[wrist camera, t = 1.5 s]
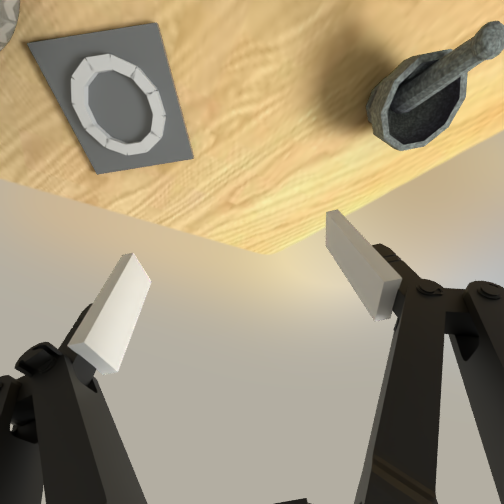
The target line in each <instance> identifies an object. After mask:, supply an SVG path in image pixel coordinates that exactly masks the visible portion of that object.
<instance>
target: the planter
mask: <svg viewBox="0 0 504 504" xmlns="http://www.w3.org/2000/svg"><path fill="white" fill-rule="evenodd" d="M19 8H20V0H0V51H1V50H2V49H3V48H4V47H5V46H6V45H7V43H8V42H9V41H10V39H11V37H12V35H13V33H14V30H15V27H16V25H17V21H18V16H19Z"/></svg>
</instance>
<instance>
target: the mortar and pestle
mask: <svg viewBox="0 0 504 504" xmlns="http://www.w3.org/2000/svg"><path fill="white" fill-rule="evenodd" d="M503 49H504V25H503V24H502V23H500V22H499V21H493V22H488V23H487V24H485V25H484V26H483V27H481V29H480V30H479V31H478V32H477V33H476V34H475V36H474V37H472V38H471V39H469V40H468V41H466V42H465V43H463V44H462V45H460V46H459V47H457V48H456V49H454V50H452V49H448V50H442V51H437V52H432V53H427V54H422V55H417V56H412V57H410V58H408V59H406V60H404V61H403V62H402V63H401V64H400V65H399V66H398V67H397V68H396V69H395V70H394V71H393V72H392V73H391V74H390V75H389V76H388V77H385V78H384V79H383V80H382V81H381V82H380V83H379V84H378V85H377V86H376V87H375V88H374V89H373V90H372V92H371V95H370V97H369V100H368V103H367V105H366V111H367V117H368V121H369V122H370V123H372V128H373V134H374V135H375V136H377V137H378V138H380V139H381V140H382V141H384V142H385V143H387V144H388V145H390V146H391V147H392V148H394V149H396V150H399V151H403V150H408V149H413V148H418V147H424V146H425V145H427V144H428V143H429V142H430V141H432V140H433V139H434V138H435V137H437V136H438V135H439V134H440V133H442V132H443V131H444V130H445V129H447V128H448V127H449V125H450V124H451V122H452V120H453V118H454V117H455V115H456V113H457V111H458V110H459V108H460V106H461V104H462V103H463V101H464V99H465V97H466V86H467V72H468V71H469V70H471V69H472V68H474V67H475V66H477V65H478V64H480V63H481V62H483V61H484V60H489V59H493V58H494V57H496V56H497V55H499V54H500V53H501V51H502V50H503Z"/></svg>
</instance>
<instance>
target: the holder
mask: <svg viewBox="0 0 504 504" xmlns="http://www.w3.org/2000/svg"><path fill="white" fill-rule="evenodd" d="M27 45H28V47H29V49H30V50H31V52H32V54H33V56H34V58H35V60H36V62H37V63H38V65H39V67H40V69H41V71H42V73H43V75H44V77H45V78H46V80H47V82H48V84H49V86H50V88H51V90H52V91H53V93H54V95H55V97H56V99H57V101H58V103H59V105H60V106H61V108H62V110H63V112H64V114H65V116H66V118H67V119H68V121H69V123H70V125H71V127H72V129H73V131H74V132H75V134H76V136H77V138H78V140H79V142H80V144H81V146H82V147H83V149H84V151H85V153H86V155H87V157H88V159H89V160H90V162H91V164H92V166H93V168H94V170H95V172H96V174H103V173H109V172H116V171H122V170H128V169H134V168H140V167H146V166H152V165H158V164H164V163H171V162H177V161H183V160H189V159H194V155H193V152H192V148H191V144H190V140H189V137H188V133H187V129H186V125H185V122H184V118H183V114H182V111H181V107H180V103H179V99H178V96H177V92H176V88H175V85H174V81H173V77H172V73H171V70H170V66H169V62H168V59H167V55H166V51H165V47H164V44H163V40H162V36H161V33H160V29H159V25H158V23H150V24H144V25H138V26H132V27H125V28H119V29H113V30H106V31H100V32H94V33H88V34H81V35H75V36H69V37H63V38H56V39H50V40H44V41H38V42H31V43H27Z"/></svg>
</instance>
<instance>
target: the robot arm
mask: <svg viewBox="0 0 504 504" xmlns="http://www.w3.org/2000/svg"><path fill="white" fill-rule="evenodd" d="M326 247H327V249H328V250H329V251H330V253H331V255H332V256H333V257H334V259H335V261H336V262H337V264H338V265H339V267H340V269H341V270H342V272H343V273H344V275H345V276H346V278H347V279H348V281H349V282H350V284H351V285H352V287H353V289H354V290H355V292H356V293H357V295H358V296H359V298H360V300H361V301H362V302H363V304H364V306H365V307H366V309H367V310H368V312H369V313H370V315H371V316H372V318H373V320H374V321H379V320H384V319H389V318H390V317H391V314H392V311H393V312H394V313H395V314H396V316H397V317H398V318H397V321H396V324H395V327H394V334H393V339H392V343H391V348H390V352H389V357H388V361H387V366H386V370H385V374H384V378H383V383H382V387H381V392H380V396H379V400H378V405H377V409H376V414H375V418H374V423H373V427H372V431H371V436H370V440H369V445H368V449H367V454H366V458H365V462H364V467H363V471H362V475H361V479H360V482H359V486H358V489H357V493H356V498H355V502H354V504H438V502H437V500H436V494H435V485H436V468H437V451H438V450H437V449H438V434H439V417H440V399H441V381H442V365H443V347H444V334H449V337H450V340H451V344H452V347H453V350H454V353H455V356H456V360H457V363H458V366H459V369H460V373H461V376H462V379H463V382H464V385H465V389H466V392H467V395H468V398H469V402H470V405H471V408H472V411H473V414H474V418H475V421H476V424H477V427H478V430H479V434H480V437H481V440H482V443H483V446H484V450H485V453H486V456H487V459H488V463H489V465H490V469H491V472H492V476H493V479H494V481H495V485H496V488H497V492H498V495H499V498H500V501H501V504H504V288H503V287H501V286H499V285H496V284H494V283H491V282H486V281H474V282H471V283H469V285H468V286H467V288H466V289H451V288H443V287H442V286H441V285H439V284H438V283H436V282H434V281H431V280H427V279H421V278H420V277H419V276H418V275H417V274H416V273H415V272H414V271H413V270H412V269H411V268H410V267H409V266H408V265H407V264H406V263H405V262H404V261H402V260H401V259H400V258H399V257H398V256H397V255H396V254H395V253H394V252H393V251H392V250H391V249H390V248H388V247H386V246H384V245H382V244H376V245H371V244H370V243H369V242H368V241H367V240H366V239H365V238H364V237H363V236H362V235H361V234H360V233H359V232H358V231H357V229H355V227H354V226H353V225H352V224H351V223H350V222H349V221H348V220H347V219H346V218H345V217H344V216H343V215H342V214H341V212H340V211H339V210H333V211H328V212H326ZM150 285H151V280H150V278H149V277H148V275H147V273H146V272H145V270H144V269H143V267H142V265H141V264H140V263H139V261H138V259H137V258H136V256H135V254H134V253H130V254H125V255H122V257H121V258H120V260H119V262H118V263H117V265H116V266H115V268H114V270H113V271H112V273H111V275H110V276H109V278H108V280H107V281H106V283H105V284H104V286H103V288H102V289H101V291H100V293H99V294H98V296H97V298H96V299H95V301H94V303H92V304H90V305H89V306H88V307H87V308H85V310H84V311H82V313H81V315H80V316H79V318H78V319H77V321H76V322H75V324H74V325H73V328H72V329H71V330H70V332H69V333H68V335H67V336H66V338H65V340H64V341H63V343H62V344H61V346H60V347H59V349H57V348H55V347H54V346H53V345H52V344H50V343H49V342H43V343H39V344H37V345H35V346H33V347H31V348H30V349H29V350H27V351H26V352H25V353H24V354H23V355H22V356H21V357H20V358H19V360H18V361H17V363H16V365H15V369H16V370H18V371H20V372H22V373H24V374H25V376H23V377H20V378H18V379H14V378H13V377H11V376H9V375H5V376H2V377H0V504H41V499H42V492H43V484H44V491H45V498H46V504H147V502H146V499H145V497H144V494H143V492H142V489H141V487H140V484H139V482H138V480H137V477H136V475H135V472H134V470H133V467H132V465H131V462H130V460H129V458H128V455H127V452H126V450H125V448H124V445H123V443H122V440H121V438H120V436H119V433H118V430H117V428H116V425H115V423H114V421H113V418H112V416H111V413H110V411H109V408H108V406H107V403H106V401H105V398H104V396H103V393H102V391H101V389H100V387H99V384H98V381H97V380H96V378H95V377H93V375H94V373H95V371H96V369H97V370H98V371H99V372H100V373H102V374H103V375H105V374H110V373H115V372H118V370H119V367H120V364H121V362H122V359H123V356H124V354H125V351H126V349H127V346H128V343H129V341H130V338H131V335H132V332H133V330H134V327H135V325H136V322H137V319H138V317H139V314H140V311H141V309H142V306H143V303H144V301H145V298H146V295H147V293H148V290H149V287H150ZM10 423H11V424H13V430H12V431H10ZM275 504H310V503H308V502H307V498H303V499H298V500H292V501H287V502H281V503H275Z"/></svg>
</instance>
